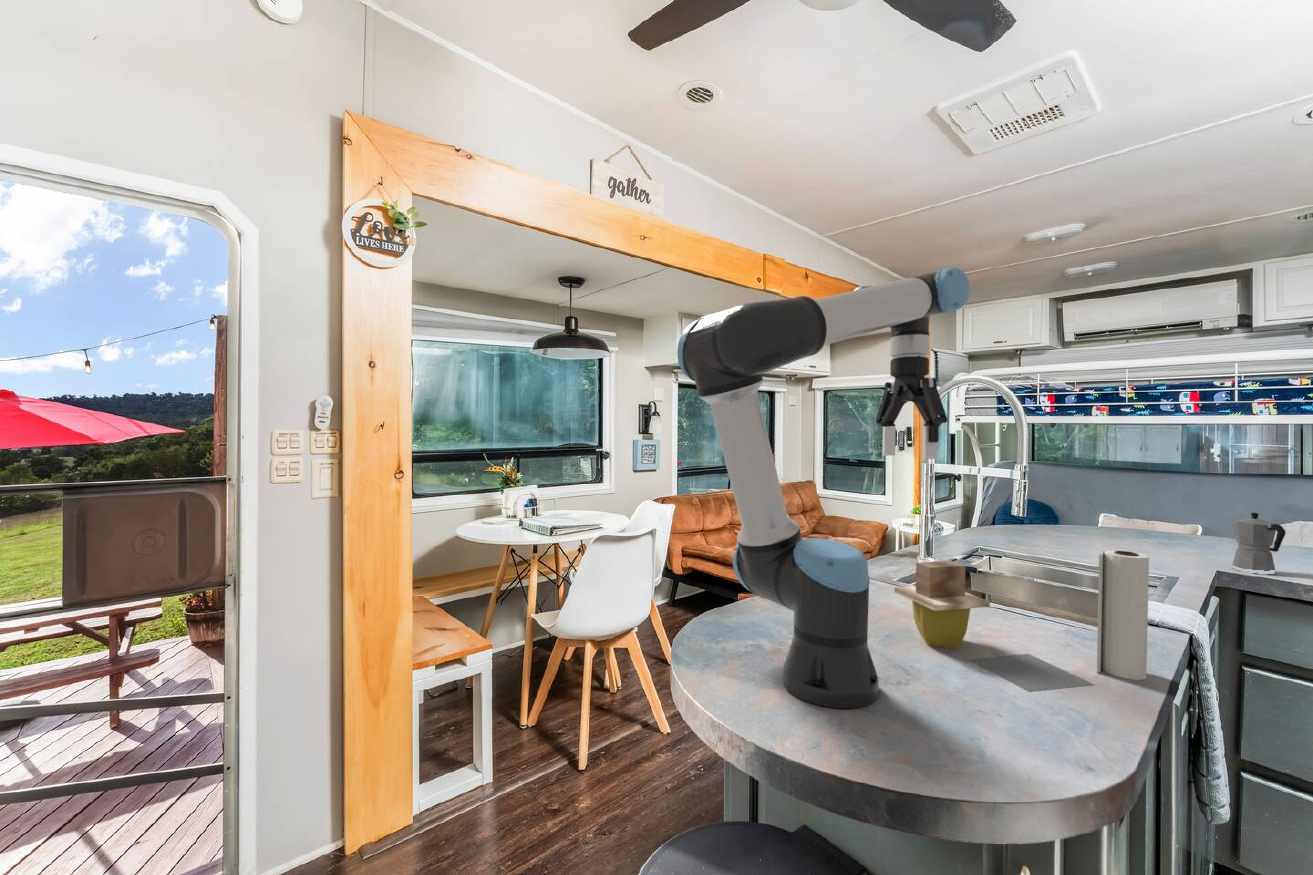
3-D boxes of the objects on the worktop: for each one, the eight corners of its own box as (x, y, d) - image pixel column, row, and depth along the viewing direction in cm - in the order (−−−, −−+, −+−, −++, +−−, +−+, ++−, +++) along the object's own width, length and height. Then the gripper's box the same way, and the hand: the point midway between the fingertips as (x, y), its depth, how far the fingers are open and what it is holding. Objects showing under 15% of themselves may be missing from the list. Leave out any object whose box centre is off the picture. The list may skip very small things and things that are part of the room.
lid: (934, 610, 104) (935, 573, 104) (894, 592, 116) (894, 558, 116) (989, 606, 107) (990, 570, 107) (944, 588, 118) (945, 556, 118)
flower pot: (970, 654, 106) (971, 607, 106) (921, 650, 108) (921, 604, 108) (955, 637, 115) (956, 594, 115) (910, 634, 117) (910, 591, 116)
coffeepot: (1217, 565, 178) (1218, 509, 178) (1249, 566, 177) (1250, 509, 177) (1265, 578, 163) (1267, 516, 162) (1300, 579, 162) (1302, 517, 162)
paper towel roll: (1142, 671, 99) (1144, 551, 99) (1150, 685, 94) (1153, 558, 93) (1091, 662, 103) (1093, 546, 102) (1096, 675, 97) (1099, 553, 97)
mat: (1028, 694, 90) (1029, 691, 90) (968, 661, 103) (968, 658, 103) (1094, 687, 93) (1094, 684, 93) (1028, 655, 106) (1028, 653, 106)
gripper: (968, 350, 108) (966, 460, 108) (889, 364, 132) (888, 454, 132) (934, 348, 106) (932, 460, 106) (860, 363, 131) (859, 454, 131)
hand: (908, 457), depth 119 cm, fingers open, 13 cm apart
